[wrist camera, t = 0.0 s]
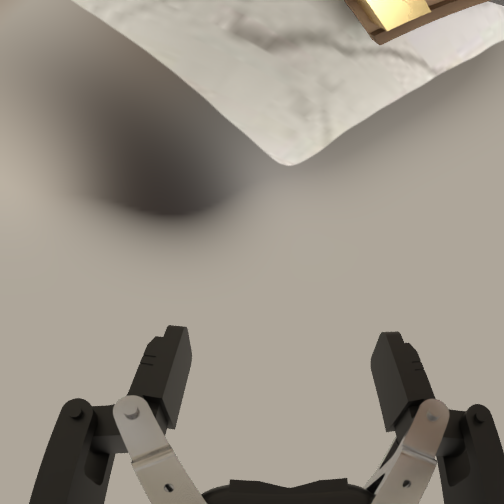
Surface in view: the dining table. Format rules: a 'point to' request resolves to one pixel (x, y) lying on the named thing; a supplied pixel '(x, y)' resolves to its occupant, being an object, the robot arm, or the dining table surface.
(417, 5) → the block
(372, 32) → the beam
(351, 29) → the dining table surface
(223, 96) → the dining table surface
